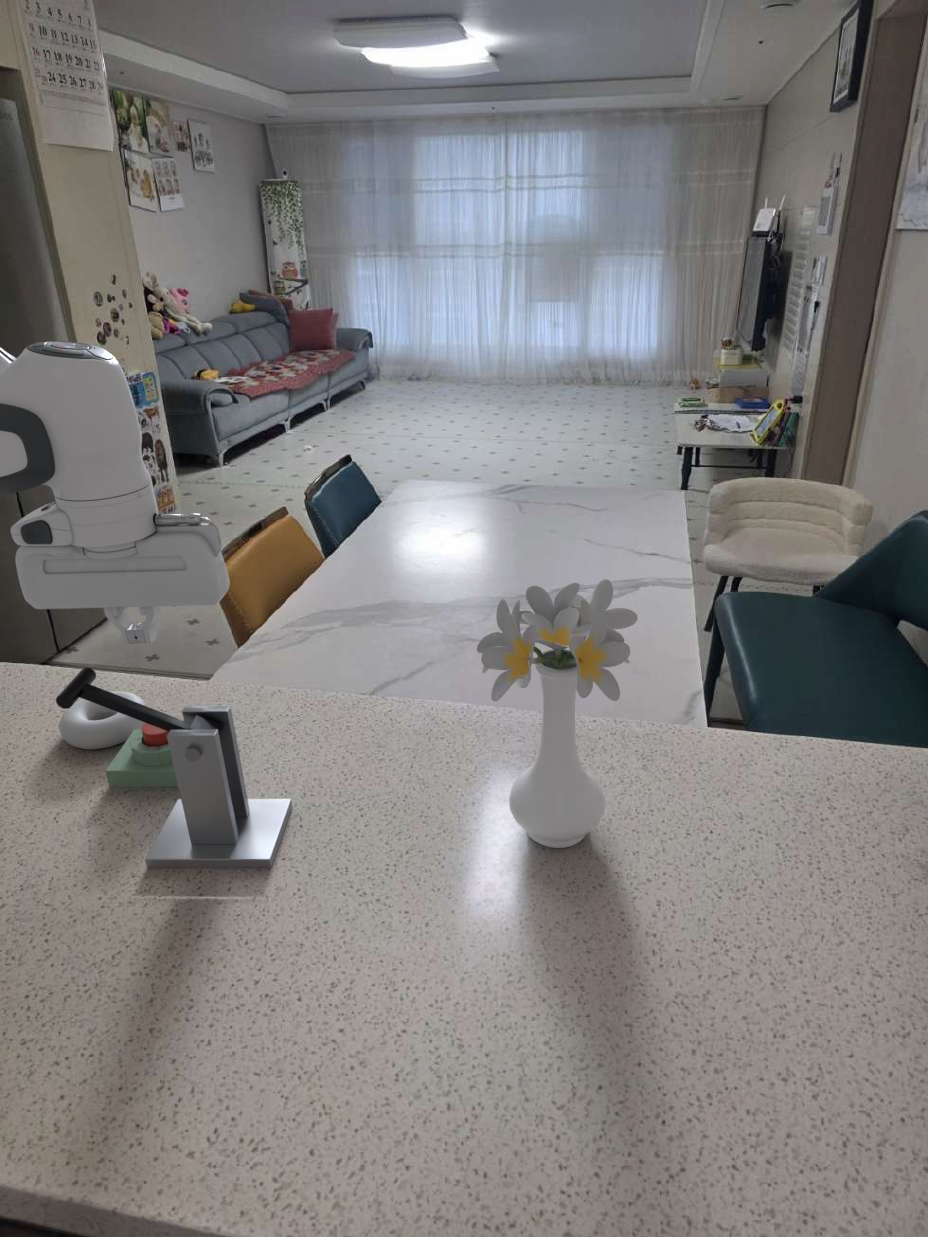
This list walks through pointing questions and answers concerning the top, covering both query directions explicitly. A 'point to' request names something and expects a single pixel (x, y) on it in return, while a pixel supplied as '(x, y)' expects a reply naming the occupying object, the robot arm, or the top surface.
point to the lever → (126, 705)
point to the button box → (141, 765)
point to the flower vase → (558, 700)
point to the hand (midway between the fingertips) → (141, 641)
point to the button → (154, 735)
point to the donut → (98, 724)
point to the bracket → (215, 804)
